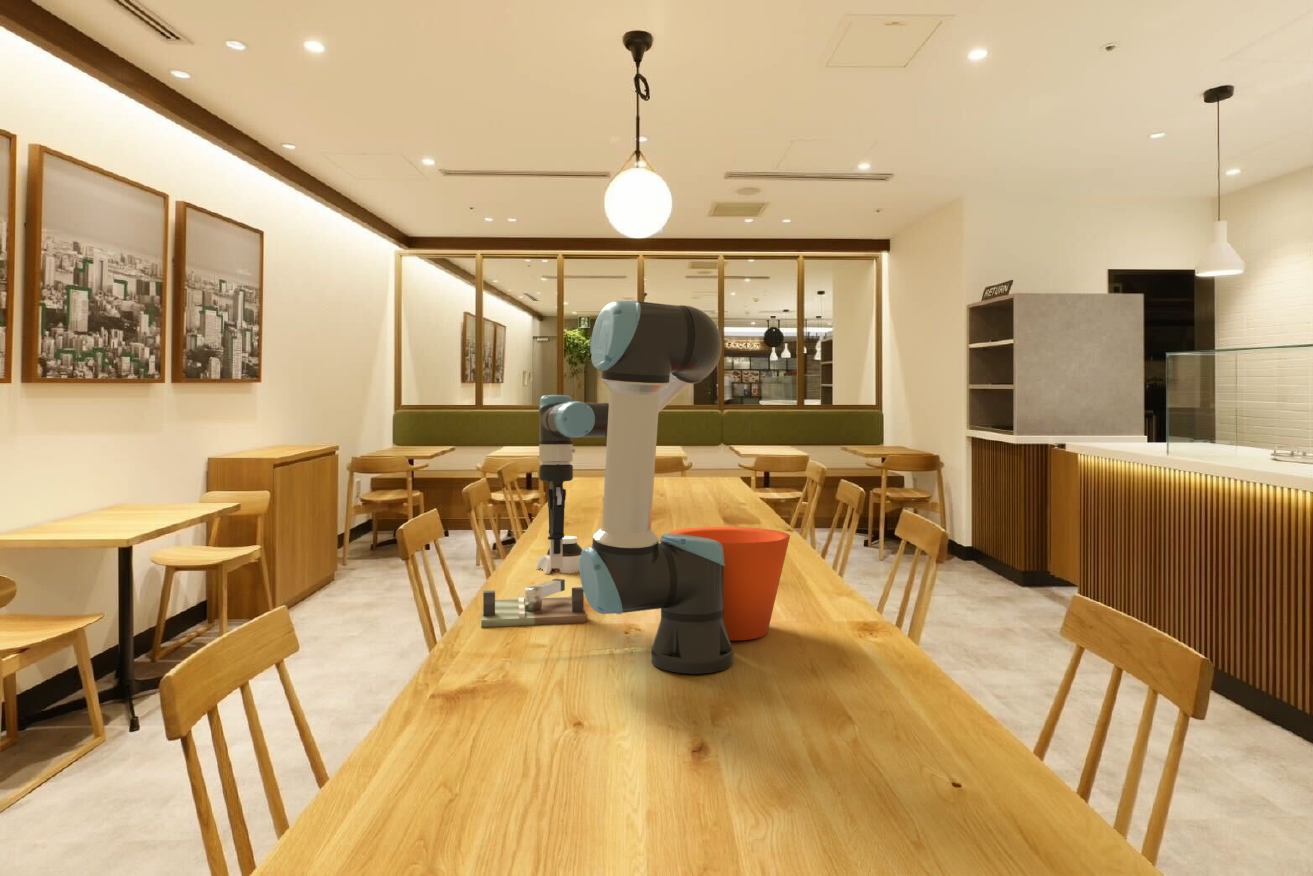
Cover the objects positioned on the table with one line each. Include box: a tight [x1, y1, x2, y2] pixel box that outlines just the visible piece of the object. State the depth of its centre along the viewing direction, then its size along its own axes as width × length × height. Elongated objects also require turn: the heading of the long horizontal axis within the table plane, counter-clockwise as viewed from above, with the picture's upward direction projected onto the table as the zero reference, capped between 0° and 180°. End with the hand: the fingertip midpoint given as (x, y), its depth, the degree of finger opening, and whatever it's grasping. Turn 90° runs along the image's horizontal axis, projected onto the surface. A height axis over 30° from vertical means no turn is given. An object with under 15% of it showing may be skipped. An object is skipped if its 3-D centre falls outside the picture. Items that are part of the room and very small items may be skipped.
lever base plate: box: [480, 586, 587, 628], centre depth 167 cm, size 19×22×6 cm
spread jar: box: [535, 535, 583, 575], centre depth 208 cm, size 12×11×12 cm
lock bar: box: [524, 578, 566, 611], centre depth 169 cm, size 13×4×5 cm, turn 155°
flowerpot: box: [668, 526, 791, 641], centre depth 154 cm, size 25×25×20 cm
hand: (556, 567), depth 169 cm, fingers closed
